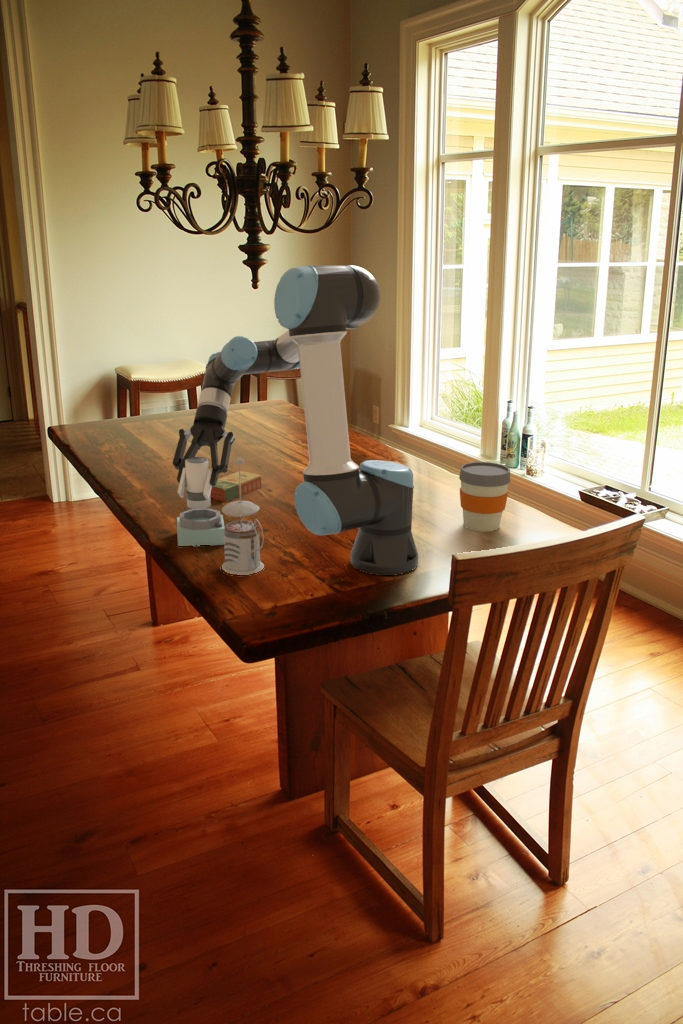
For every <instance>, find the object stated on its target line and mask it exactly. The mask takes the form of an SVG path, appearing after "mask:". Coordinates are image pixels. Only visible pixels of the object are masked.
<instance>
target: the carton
mask: <svg viewBox="0 0 683 1024" xmlns="http://www.w3.org/2000/svg"><path fill="white" fill-rule="evenodd" d="M240 483H241V497H242V496H244V495H246V494H249V493H251V492H254V491H258V490H259V489H261V488H262V475H261V474H257V473H253V472H247V471H242V470H240ZM211 498H213V499H212V500H214V499H217V500H216V501H218V500H221V501H220V502H223V501H224V503H228V502H230V501H233V500H235V499H237V498H240V486H239V470H238V471H234V472H232V473H230V474H227V475H224V476H221V477H219V478H217V483H216V485H215V486H212V488H211Z"/></svg>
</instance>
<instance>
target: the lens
mask: <svg viewBox="0 0 683 1024" xmlns="http://www.w3.org/2000/svg"><path fill="white" fill-rule="evenodd" d="M185 469H186V490H185V494H186V495H185V496H186V503H187V504H186V505H187V506H186V507H187V508H189V509H204V508H210V507H211V506H212V503H211V500H212V499H211V493H210V498H209V500H207V499H205V497H204V495H203V492H204V487H205V483H206V478H207V474H208V470H209V469H210V459H208V458H207V457H204V456H195V457H191V458H189V459H186V460H185Z"/></svg>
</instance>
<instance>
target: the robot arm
mask: <svg viewBox="0 0 683 1024" xmlns="http://www.w3.org/2000/svg"><path fill="white" fill-rule="evenodd" d="M380 303H381V289H380V286H379V283H378V282H377V280H376V278H375V277H374V276H373V275H372V273H370V272H369V271H368V270H367V269H365V268H363V267H360V266H357V265H354V264H347V265H346V264H344V265H305V266H296V267H292V268H289V269H287V270H286V271H285V272H284V273H283V274H282V275H281V277H280V279H279V282H277V285H276V288H275V292H274V300H273V305H274V306H273V307H274V313H275V317H276V319H277V322H278V323H279V325H280V326H281V327H283V328H285V329H287V331H285V332H283V334H281V335H280V336H278V337H277V338H275V339H272V340H271V339H270V340H260V341H253V340H252V339H250V338H248V337H247V336H244V335H236V336H233V337H232V338H231V339H230V340H229V341H228V342H227V343H226V344H224V346H223V347H222V349H221V351H216V353H212V354H211V355H210V356H209V358H208V361H207V363H206V366H205V372H204V376H203V382H202V385H201V386H202V387H201V390H200V395H199V398H198V402H197V408H196V410H195V413H194V414H195V415H194V420H193V424H192V425H191V427H190V429H186V430H184V429H183V428H180V429H179V430H178V433H179V434H178V436H179V439H178V442H177V445H176V450H175V452H174V456H173V459H172V466H173V467H174V469H175V470H178V472H177V476H176V480H177V482H178V484H179V485H178V488H177V493H176V494H178V496H179V498H181V499H184V498H185V496H186V495H185V494H186V469H185V460H186V459H189V458H191V457H196V455H197V453H198V452H199V450H200V449H201V448H202V447H205V446H206V447H209V450H210V461H211V465H210V466H211V469H210V468H209V470H208V474H207V478H206V483H205V487H204V492H203V495H204V497H205V499H207V500H209V498H210V493H211V488H212V486H215V485H216V483H217V479H219V478H218V477H219V474H221V473H224V474H225V473H227V472H228V469H229V468H228V467H229V463H230V456H231V450H232V445H233V444H234V442H235V440H236V438H235V436H234V435H235V434H234V433H233V432H232V431H229V432H228V431H226V430H225V428H226V423H227V419H228V413H229V409H230V404H231V401H232V396H233V395H232V394H233V390H234V387H235V384H236V383H237V382H238V381H239V380H240V379H241V378H242V377H243V376H244V375H253V374H262V373H271V372H280V371H292V370H296V369H300V381H301V382H300V383H301V389H302V399H303V409H304V411H303V412H304V420H305V430H306V440H307V451H308V460H309V461H308V462H309V463H308V465H307V466H306V467H305V469H303V472H302V473H303V474H302V475H303V481H302V482H300V483H299V484H298V485H297V486H296V488H295V492H294V494H293V495H294V497H293V500H294V506H295V510H296V513H297V516H298V517H299V520H300V521H301V523H302V524H303V525H304V527H305V528H306V529H307V530H308V531H309V532H311V534H314V535H317V536H328V535H338V534H339V533H342V532H345V531H346V532H347V531H350V530H355V529H358V531H357V534H356V536H355V539H354V543H353V546H352V548H351V551H350V564H352V565H353V566H354V567H355V568H357V569H359V570H361V571H364V572H367V573H372V574H377V575H376V576H380V575H393V576H396V575H395V574H401V573H405V572H408V571H411V570H412V569H414V568H415V567H416V566H417V565H419V553H418V549H417V546H416V543H415V539H414V535H413V533H412V527H413V526H412V523H413V501H414V500H413V499H414V489H415V486H414V473H413V471H412V469H411V468H410V467H408V466H407V465H404V464H402V463H399V462H395V461H388V460H383V459H382V460H380V459H379V460H378V459H375V460H374V459H370V460H368V459H367V460H363V461H362V462H361V463H359V464H360V465H358V464H357V463H356V462H354V461H353V459H352V458H351V449H350V448H351V447H350V439H349V437H350V435H349V426H348V414H347V404H346V403H347V402H346V393H345V380H344V371H343V361H342V360H343V359H342V357H343V356H342V348H341V342H342V339H344V337H345V336H346V335H347V333H348V331H347V330H355V329H358V328H359V327H360V328H361V326H363V325H364V324H366V323H367V322H369V321H370V320H371V319H372V318H373V317H374V316H375V315H376V313H377V311H378V310H379V307H380ZM190 436H192V440H191V443H190V445H189V446H188V448H186V447H187V445H188V440H189V439H190ZM222 439H223V440H224V441H223V445H222V450H221V451H222V452H221V456H220V457H221V459H220V463H219V455H218V454H219V453H218V443H219V442H220V441H221V440H222ZM186 449H187V451H186ZM352 565H351V566H352ZM353 566H352V567H353ZM354 567H353V568H354ZM417 567H418V566H417ZM417 567H416V568H417ZM355 568H354V569H355ZM416 568H415V569H416ZM357 569H356V570H357ZM415 569H414V570H415ZM359 570H358V571H359ZM361 571H360V572H361ZM364 572H363V573H364ZM411 572H412V571H411ZM367 573H366V574H367ZM408 573H409V572H408ZM372 574H371V575H372ZM405 574H406V573H405ZM401 575H402V574H401Z"/></svg>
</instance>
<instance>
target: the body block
mask: <svg viewBox="0 0 683 1024" xmlns="http://www.w3.org/2000/svg"><path fill="white" fill-rule="evenodd" d="M224 521H225V520H224V517H223V514H221V511H220V510H216V509H214V508H213V509H212V508H210V507H208V508H204V509H192V508H189V509H188V510H187V509H186V511H182V512H179V516H177V517H176V534H177V536H176V537H177V547H178V546H189V545H190V546H191V545H192V546H193V547H201V546H200V545H210V546H223V545H225V543H224V532H225V531H226V529H225V522H224ZM196 545H197V546H196Z"/></svg>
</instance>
